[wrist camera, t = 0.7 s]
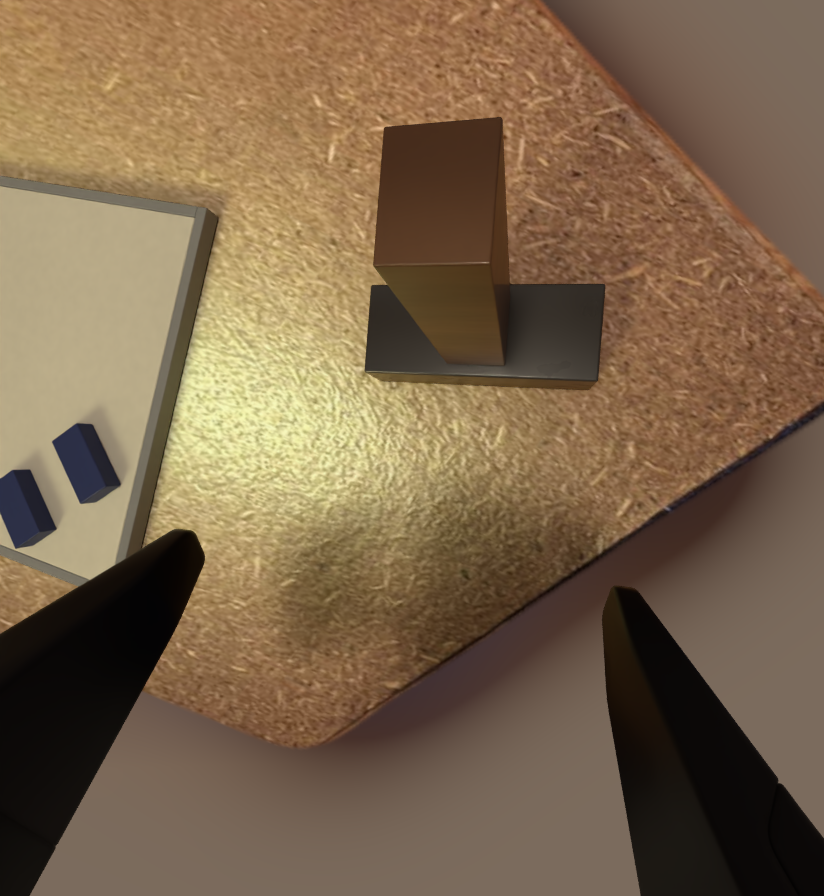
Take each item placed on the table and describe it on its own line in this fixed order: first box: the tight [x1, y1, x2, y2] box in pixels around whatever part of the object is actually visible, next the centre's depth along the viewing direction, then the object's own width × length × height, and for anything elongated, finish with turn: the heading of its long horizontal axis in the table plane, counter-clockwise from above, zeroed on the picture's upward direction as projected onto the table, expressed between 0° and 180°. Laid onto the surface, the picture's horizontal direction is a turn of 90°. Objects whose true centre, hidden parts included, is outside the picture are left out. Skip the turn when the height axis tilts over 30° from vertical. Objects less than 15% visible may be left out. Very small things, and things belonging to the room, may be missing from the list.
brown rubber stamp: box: [365, 117, 605, 390], centre depth 16 cm, size 4×10×13 cm, turn 86°
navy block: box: [0, 469, 57, 549], centre depth 26 cm, size 4×2×1 cm, turn 31°
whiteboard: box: [0, 176, 218, 586], centre depth 28 cm, size 22×20×1 cm
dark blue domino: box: [52, 423, 121, 504], centre depth 25 cm, size 4×2×1 cm, turn 31°
